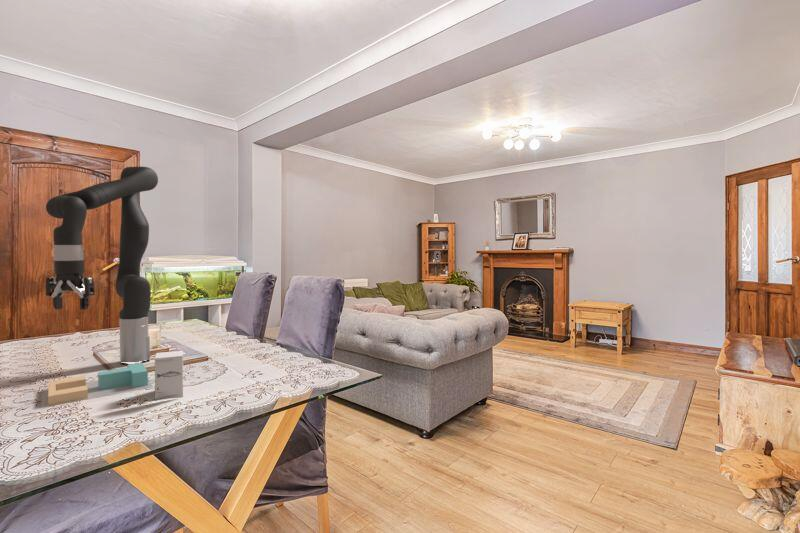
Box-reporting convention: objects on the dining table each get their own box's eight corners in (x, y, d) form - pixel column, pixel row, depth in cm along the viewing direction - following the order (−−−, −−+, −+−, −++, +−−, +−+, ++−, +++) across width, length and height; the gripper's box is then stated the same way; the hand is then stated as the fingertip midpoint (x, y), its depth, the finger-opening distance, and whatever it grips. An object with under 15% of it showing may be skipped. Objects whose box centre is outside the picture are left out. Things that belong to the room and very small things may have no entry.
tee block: (141, 375, 135) (141, 362, 135) (147, 385, 126) (147, 371, 125) (97, 383, 127) (97, 369, 127) (100, 393, 118) (100, 378, 118)
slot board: (144, 375, 138) (143, 365, 138) (153, 390, 124) (153, 379, 124) (43, 392, 121) (42, 381, 121) (40, 411, 107) (40, 398, 107)
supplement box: (154, 401, 115) (153, 358, 114) (156, 393, 122) (155, 352, 121) (183, 397, 118) (182, 355, 118) (183, 389, 125) (183, 349, 124)
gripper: (99, 258, 132) (101, 307, 132) (58, 258, 132) (60, 307, 133) (80, 259, 124) (82, 311, 125) (36, 259, 125) (39, 311, 126)
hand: (71, 309), depth 129 cm, fingers open, 8 cm apart
